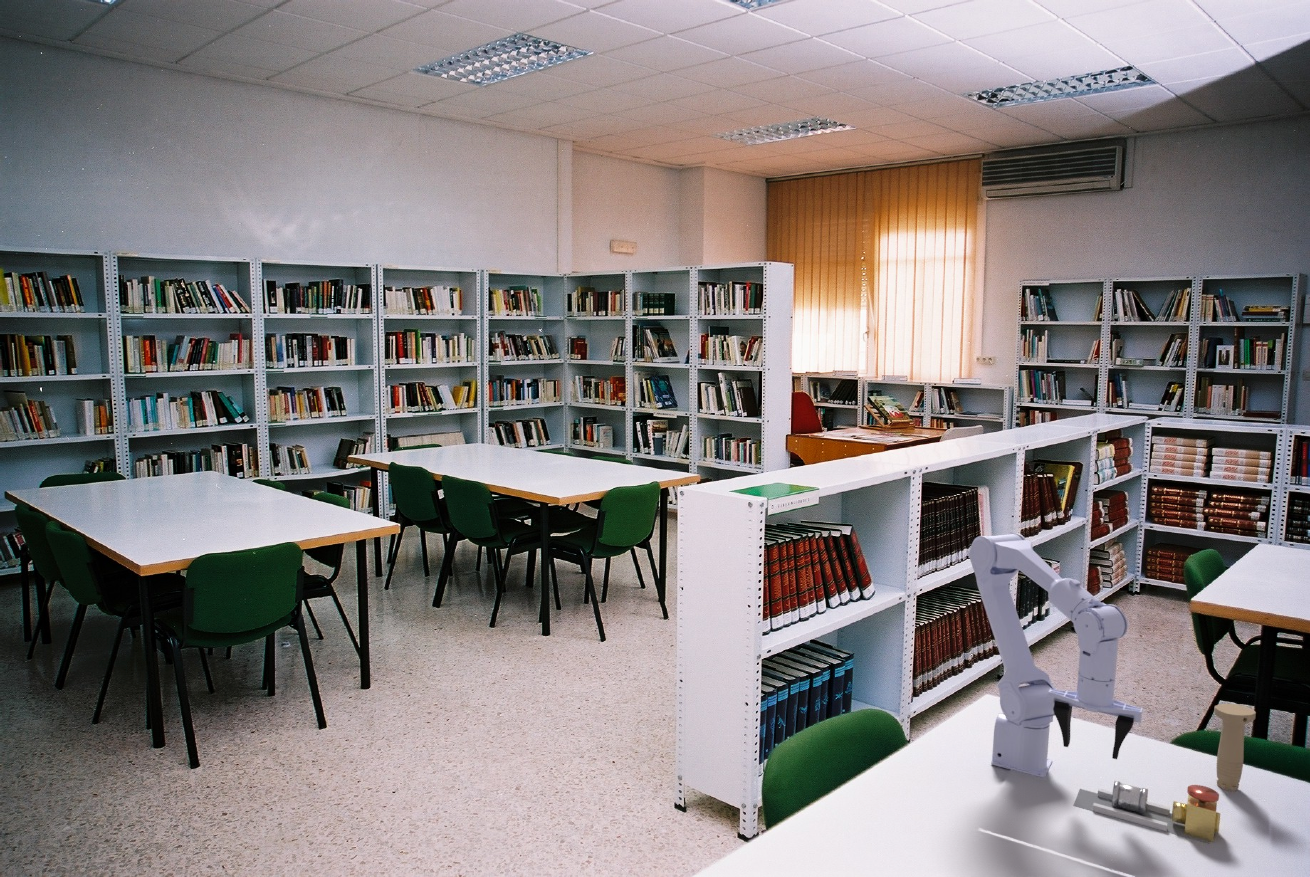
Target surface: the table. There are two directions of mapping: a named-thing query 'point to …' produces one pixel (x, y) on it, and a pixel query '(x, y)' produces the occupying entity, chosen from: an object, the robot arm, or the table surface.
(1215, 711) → the handle
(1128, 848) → the table surface
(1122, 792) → the coupling
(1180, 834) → the grey railed tray
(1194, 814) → the valve
